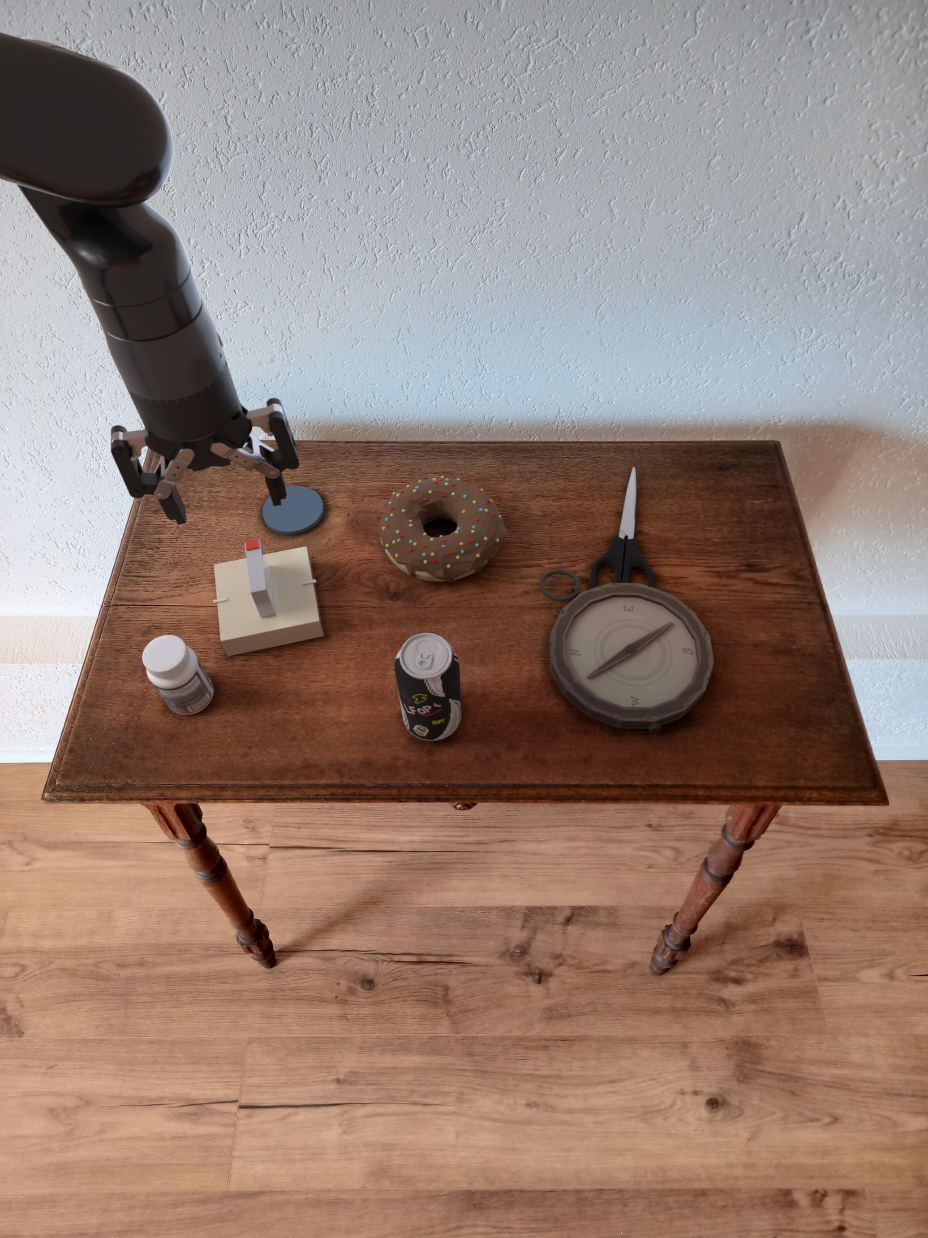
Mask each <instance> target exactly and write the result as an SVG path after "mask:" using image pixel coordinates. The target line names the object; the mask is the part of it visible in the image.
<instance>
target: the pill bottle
mask: <svg viewBox="0 0 928 1238" xmlns="http://www.w3.org/2000/svg"><path fill="white" fill-rule="evenodd" d="M141 657H142V658H141V659H142V663H143V665H144V667H145V668H146V669H145V671H146V676H147V678H148V680H149V682H151V684H152V685H153V687H154V688H155V690H156V691H157V692H158V694H159V695H160V697H161V698H162V699H163V701H164V702H165V704H166V706H167V707H168V708H169V709H170V710H171V711H172V712H174V713H176V714H178V715H183V716H190V715H195V714H197V713H200V712H201V711H203V710H204V709H205V708H207V706H208V705H209V704H210V702H211V701H212V699H213V696H214V693H215V691H214V690H215V688H214V684H213V681H212V680H211V678H210V677H209V675H208V673H207V671H206V669H205V668H204V666H203V665H202V663H201V660H200V659H199V657H198V656H197V654H196V653H195V651H194V650H193V649H192V648H191V647H189V646H188V645H187V644H186V643H185V641H184V640H183V639H182V638H180V637H179V636H176V635H173V634H164V635H161V636H157V637H155V638H154V639H152V640H150V641H149V643H147V645H145V647H144V649H143V652H142V655H141Z"/></svg>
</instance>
